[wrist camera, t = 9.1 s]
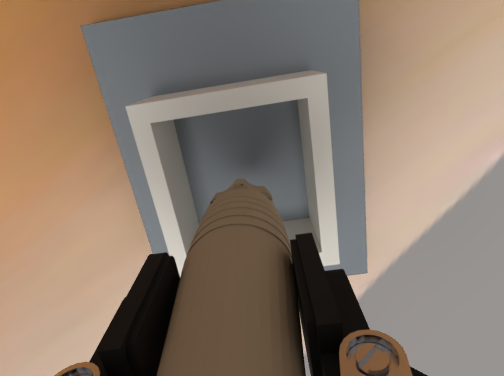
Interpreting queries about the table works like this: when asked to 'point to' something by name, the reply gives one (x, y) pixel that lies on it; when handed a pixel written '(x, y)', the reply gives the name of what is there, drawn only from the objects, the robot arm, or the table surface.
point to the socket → (240, 116)
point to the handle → (236, 294)
